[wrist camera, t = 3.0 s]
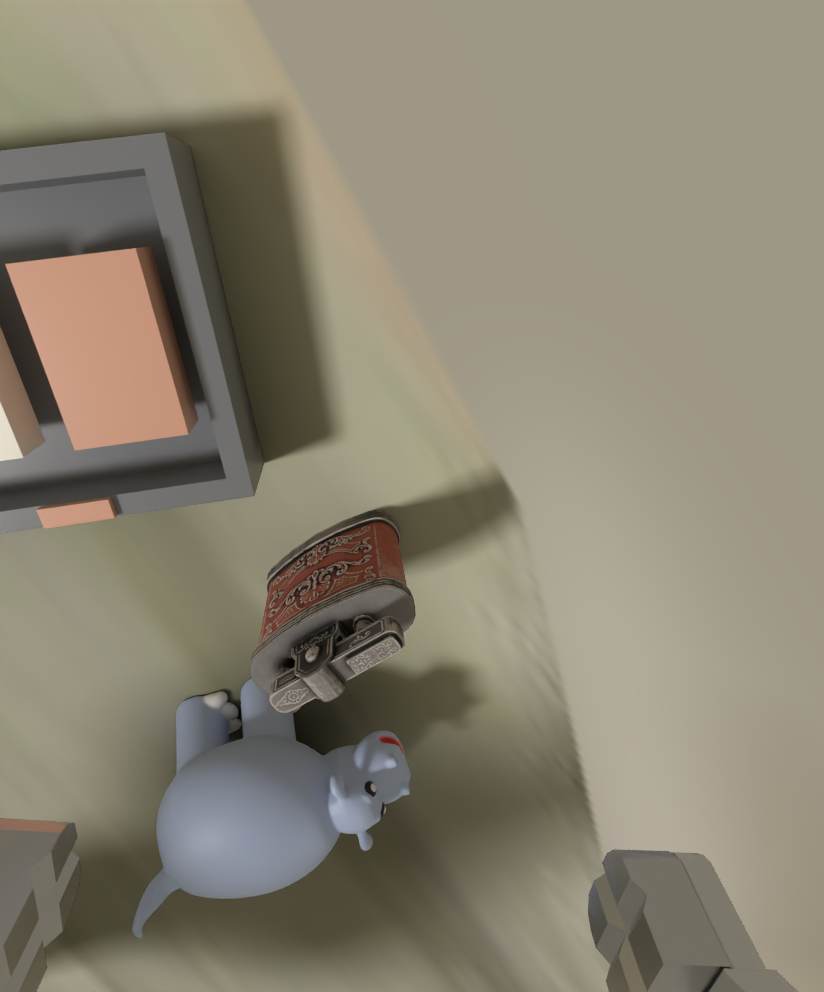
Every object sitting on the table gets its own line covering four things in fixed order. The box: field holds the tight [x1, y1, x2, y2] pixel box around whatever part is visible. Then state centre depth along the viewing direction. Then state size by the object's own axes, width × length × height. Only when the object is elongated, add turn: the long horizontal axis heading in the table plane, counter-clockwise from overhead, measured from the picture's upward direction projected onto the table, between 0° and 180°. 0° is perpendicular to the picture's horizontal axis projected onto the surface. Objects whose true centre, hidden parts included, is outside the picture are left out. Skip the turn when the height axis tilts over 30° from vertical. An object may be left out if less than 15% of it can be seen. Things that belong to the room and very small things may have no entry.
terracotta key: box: [5, 246, 199, 450], centre depth 23 cm, size 4×7×2 cm, turn 6°
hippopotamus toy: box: [132, 679, 411, 939], centre depth 34 cm, size 11×15×10 cm
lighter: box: [249, 510, 416, 713], centre depth 28 cm, size 8×3×10 cm, turn 120°
